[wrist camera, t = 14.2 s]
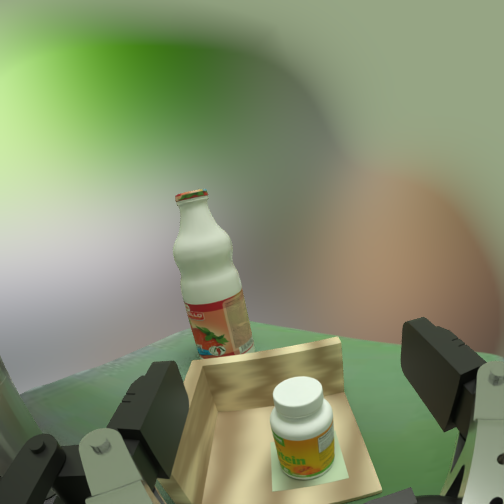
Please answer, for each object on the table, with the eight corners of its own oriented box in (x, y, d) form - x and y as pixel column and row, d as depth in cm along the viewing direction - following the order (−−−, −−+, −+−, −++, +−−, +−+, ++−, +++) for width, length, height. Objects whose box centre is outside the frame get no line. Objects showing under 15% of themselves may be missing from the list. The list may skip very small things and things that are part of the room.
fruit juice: (265, 359, 46) (230, 182, 41) (211, 380, 43) (164, 195, 38) (243, 340, 55) (211, 189, 50) (196, 356, 51) (156, 200, 46)
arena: (185, 516, 18) (150, 469, 17) (208, 408, 36) (192, 360, 34) (381, 492, 17) (391, 440, 16) (341, 388, 35) (337, 336, 33)
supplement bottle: (268, 468, 23) (249, 399, 22) (301, 436, 27) (290, 366, 25) (314, 488, 20) (306, 420, 18) (345, 451, 23) (343, 378, 22)
